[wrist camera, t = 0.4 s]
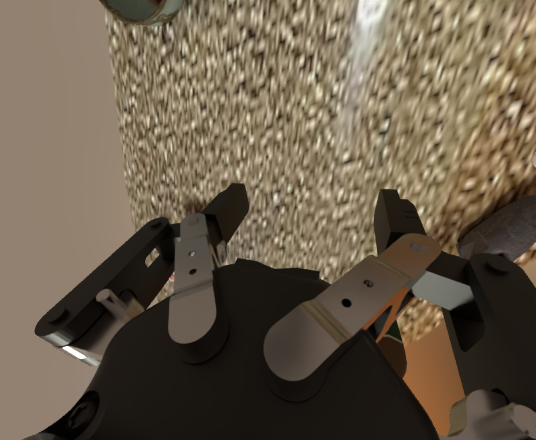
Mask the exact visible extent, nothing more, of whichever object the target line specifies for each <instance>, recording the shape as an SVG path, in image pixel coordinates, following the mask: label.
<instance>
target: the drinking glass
mask: <svg viewBox="0 0 536 440" xmlns="http://www.w3.org/2000/svg"><path fill="white" fill-rule="evenodd" d="M532 162H533V165H534V166H535V167H536V151H535V152H534V154H533V157H532Z"/></svg>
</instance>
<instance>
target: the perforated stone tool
mask: <svg viewBox="0 0 536 440" xmlns="http://www.w3.org/2000/svg"><path fill="white" fill-rule="evenodd" d="M535 242H536V195H532V196H528V197H525V198H522V199H519V200H517V201H514V202H512V203H510V204H508V205H506V206H504V207H503V208H501V209H500V210H498V211H497V212H495V213H494V214H492V215H491V216H490V217H489V218H487V219H485V220H484V221H483V222H482V223H480V224H479V225H478V226H476V227H475V228H473V229H472V230H471V231H470V232H469V233H468V234H466V235H465V237H464V238H463V239H462V240H461V241H460V242H459V243H458V244H457V245H456V247H457V248H458V253H459V255H460V257H461V258H465V259H468V260H469V259H470V257H471V256H472V255H474V254H476V253H490V254H495V255H498V256H501V257H504V258H506V259H508V260H510V261H512V262H513V261H515V260H516V259H517V258H518V257H520V256H521V255H522V254H523V253H525V252H526V251H527V250H528V249H529V248H530V247H531V246H532V245H533V244H534V243H535Z"/></svg>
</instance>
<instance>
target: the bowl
mask: <svg viewBox="0 0 536 440" xmlns="http://www.w3.org/2000/svg"><path fill="white" fill-rule="evenodd" d="M99 1H100V2H101V3H102V5H103V6H104V7H105V8H106V9H107V10H108V11H109V12H110V13H111V14H112V15H113V16H115V17H116V18H117V19H119V20H120V21H122V22H125V23H129V24H133V25H144V26H162V25H164V24H166V23H168V22H170V21H172V20H173V19H174V18H175V17H176V15H177V14H178V13H179V12H180V10H181V8H182V6H183V4H184V1H185V0H99Z"/></svg>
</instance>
